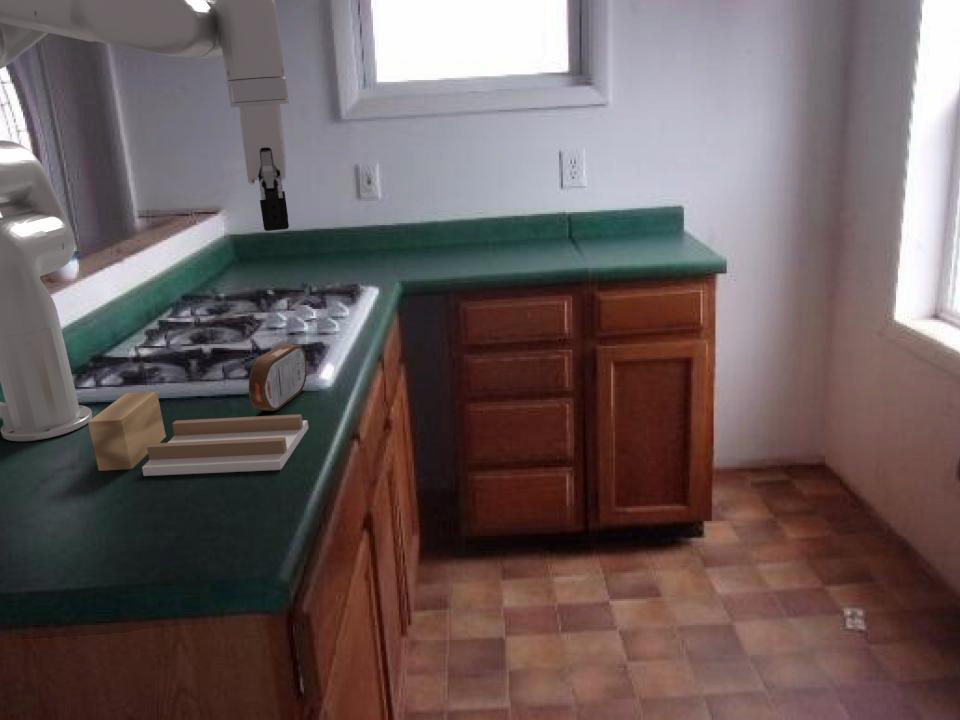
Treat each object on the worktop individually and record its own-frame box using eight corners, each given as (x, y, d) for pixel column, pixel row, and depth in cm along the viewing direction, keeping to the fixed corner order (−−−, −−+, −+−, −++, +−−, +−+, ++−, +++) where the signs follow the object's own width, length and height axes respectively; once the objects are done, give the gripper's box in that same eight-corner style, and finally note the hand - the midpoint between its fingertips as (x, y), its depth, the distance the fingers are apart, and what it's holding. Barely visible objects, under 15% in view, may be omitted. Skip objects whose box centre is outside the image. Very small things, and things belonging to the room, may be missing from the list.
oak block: (98, 471, 113) (87, 421, 111) (135, 438, 124) (126, 393, 122) (131, 469, 113) (121, 420, 111) (166, 437, 124) (156, 391, 121)
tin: (295, 385, 142) (288, 336, 139) (313, 386, 141) (306, 336, 138) (251, 419, 128) (242, 365, 125) (270, 420, 127) (261, 365, 125)
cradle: (143, 475, 110) (139, 454, 110) (185, 434, 124) (182, 414, 123) (280, 469, 109) (277, 447, 108) (308, 428, 122) (305, 408, 121)
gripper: (232, 97, 120) (250, 220, 125) (225, 95, 104) (246, 236, 109) (286, 93, 121) (303, 214, 127) (288, 91, 105) (306, 230, 110)
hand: (276, 224), depth 118 cm, fingers open, 9 cm apart
